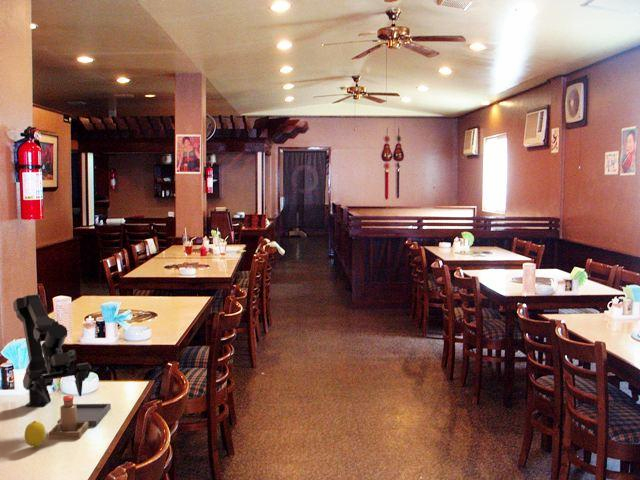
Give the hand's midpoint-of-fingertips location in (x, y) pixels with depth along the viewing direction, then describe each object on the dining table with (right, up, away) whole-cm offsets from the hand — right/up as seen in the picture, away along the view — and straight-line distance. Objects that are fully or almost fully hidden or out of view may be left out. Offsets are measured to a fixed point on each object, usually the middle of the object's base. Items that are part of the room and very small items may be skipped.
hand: (65, 398), depth 193 cm
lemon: (-4, -11, -12) cm, 17 cm away
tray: (+2, -9, +12) cm, 15 cm away
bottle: (+2, -10, -2) cm, 11 cm away
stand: (+2, -10, -2) cm, 11 cm away
